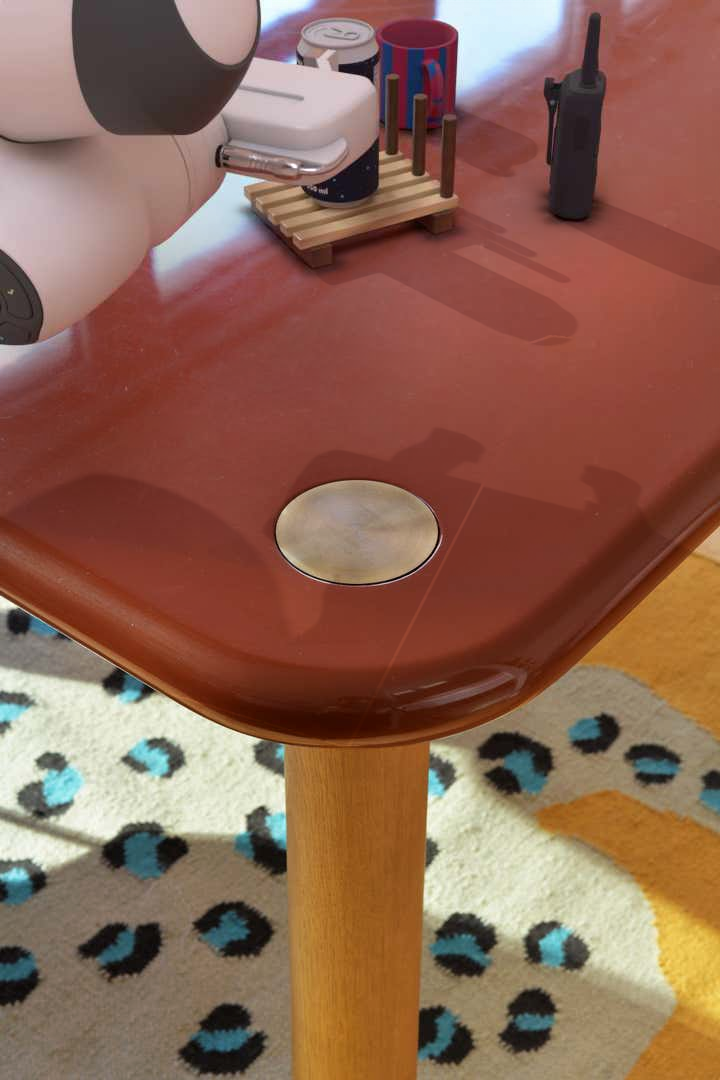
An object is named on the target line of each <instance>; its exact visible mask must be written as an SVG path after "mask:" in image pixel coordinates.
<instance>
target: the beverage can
mask: <svg viewBox="0 0 720 1080" xmlns="http://www.w3.org/2000/svg"><path fill="white" fill-rule="evenodd" d="M300 35H301V38H300V40H299V43H298V44H297V47H296V50H295V60H296V61H295V62H296V65H301V66H304V58H303V56H304V55H305V54H306V53H307V52H308V51H311V48H313V47H317V48H324V49H329V50H336V51H337V52H338V72H341V73H347V74H353V75H359V76H363V77H366V78H368V79H369V80H370V81H371V83H372V84H373V86H374V87H375V89H376V91H377V99H378V122H377V133H376V138H375V141H374V143H373V144H372V146H371V147H370V148H369V149H368V150H367V151H366V152H365V153H364V154H362V155H361V156H360V157H359V158H358V159H357V160H355V161H354V162H353V163H352V164H350V165H349V166H348V167H346V168H345V169H344V170H342V171H341V172H339V173H338V174H336V175H335V176H333V177H331V178H330V179H328V180H326V181H324V182H321V183H318V184H314V185H307V186H301V188H302V190H303V191H304V192H305V193H306V194H307V195H309V196H310V197H312V199H313V201H315V202H316V203H317V204H319V205H321V206H324V207H328V208H335V209H344V208H351V207H355V206H358V205H360V204H362V203H364V202H365V201H366V200H367V198H368V197H369V196H370V195H372V194H373V193H374V192H375V191H376V190H377V188H378V186H379V152H380V119H379V96H380V49H379V46H378V44H377V42H376V37H375V30H374V28H373V26H371V25H370V24H369V23H367V22H365V21H363V20H360V19H354V18H347V17H330V18H329V17H327V18H322V19H317V20H314V21H312V22H309V23H308V24H306V25H305V26H303V27H302V29H301V32H300Z"/></svg>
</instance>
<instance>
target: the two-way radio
mask: <svg viewBox="0 0 720 1080" xmlns="http://www.w3.org/2000/svg"><path fill="white" fill-rule="evenodd" d="M601 23H602V16H601V13H600V12H599V11H593V12H591V13H590V14H589V19H588V23H587V24H588V25H587V30H586V36H585V37H586V38H585V44H584V52H583V59H582V63H581V66H580V67H581V68H577V69H574V70H572V71H571V72H569V73H567V74H566V75H565V76H564V77H563V79H562V81H561V82H555V77H548V76H547V77H545V78H544V84H543V85H544V86H543V96H544V99H545V102H546V105H547V110H548V129H547V130H548V131H547V144H546V145H547V146H546V155H545V157H546V158H545V159H546V160H545V161H546V164H547V166H548V167H550V171H549V182H548V184H549V193H548V209H549V211H550V212H551V213H552V214H554V215H557V216H558V217H559V218H562V219H568V220H582V219H585V218H587V217H588V216H589V215H590V213H591V209H592V205H593V202H594V198H595V193H596V184H597V177H598V157H599V151H600V143H601V135H602V116H603V115H602V114H603V108H604V107H603V106H604V100H605V96H606V91H607V77H606V74H605V72H603V71H602V70H599V68H600V65H599V64H600V63H599V49H600V38H601ZM555 115H556V118H555ZM555 120H556V121H555ZM554 125H555V126H554Z"/></svg>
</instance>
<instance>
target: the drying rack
mask: <svg viewBox="0 0 720 1080" xmlns="http://www.w3.org/2000/svg"><path fill="white" fill-rule="evenodd" d="M457 124H458V117H457V115H456V114H455V115H451V114H448V115H445V116H443V123H442V126H441V130H442V131H441V148H440V149H441V150H440V153H441V154H440V178H439V180H438V179H433V180H431V173H428V172H427V171H426V158H427V156H426V155H427V129H426V127H427V95H425V94H416V95H414V98H413V130H412V142H411V144H412V146H411V159H410V158H404V153H402V151H400V150H399V130H400V128H399V75H397V74H389V75H387V76H386V113H385V123H384V126H385V127H384V128H385V129H384V130H385V131H384V150H381V151H379V186H378V188H377V190H376V191H375V192H374V193H373V194H372V195H370V196H369V197H368V198H367V200H366V201H365V202H364V203H362V204H360V205H358V206H355V207H351V208H344V209H335V208H328V207H324V206H321V205H319V204H317V203H316V202H315V201H313V199H312V197H310V196H309V195H307V194H306V193H305V192H304V191H303V190H302V188H301V186H298V185H288V184H282V183H277V182H272V181H267V180H263V181H260V182H255V183H252V184H247V185H244V186H243V196H244V197H245V198H246V199H247V201H249V202H250V207H251V211H252V212H253V213H254V214H255V215H256V216H257V217H258V218H259V219H260V220H261V221H262V222H263V223H264V224H265V225H266V226H267V227H269V228H270V229H271V230H272V231H273V232H274V233H275V234H276V235H277V236H278V237H279V238H280V239H281V240H282V241H283V242H284V243H285V244H286V245H287V246H288V247H289V248H290V249H291V250H292V251H293V252H294V253H295V254H296V255H298V256H299V258H300V259H302V261H304V263H306V265H308V266H309V267H310V268H311V269H312V270H315V269H318V268H323V267H325V266H329V265H332V264H333V245H332V244H331V242H335V241H339V240H342V239H346V238H349V237H350V238H351V237H353V236H357V235H361V234H363V233H367V232H371V231H374V230H379V229H382V228H385V227H390V226H393V225H396V224H401V223H403V222H407V221H411V220H415V221H416V222H418V223H419V224H420V225H422V226H423V227H424V228H425V229H426V230H428V231H429V232H430V233H431V234H432V235H434V236H435V235H438V234H442V233H445V232H449V231H453V220H454V211H453V210H452V209H454V208H457V207H459V199H460V198H459V196H458V195H457V194H456V193H454V192H455V191H454V189H455V171H456V149H457V147H456V146H457V127H458V125H457Z"/></svg>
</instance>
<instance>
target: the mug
mask: <svg viewBox="0 0 720 1080" xmlns="http://www.w3.org/2000/svg"><path fill="white" fill-rule="evenodd" d="M375 40H376V42H377V44H378V46H379V49H380V96H379V121H381V122H382V123H384V124H385V113H386V76H387V75H389V74H397V75H399V129H402V130H408V131H413V98H414V95H416V94H425V95H427V127H426V130H432V129H436V128H440V127H442V123H443V116H445V115H448V114H451V115H455V116H456V98H457V78H458V77H457V75H458V54H459V53H458V52H459V32H458V29H456V27H454V26H453V25H451V24H449V23H447V22H444V21H441V20H437V19H432V18H425V17H423V18H421V17H412V18H409V17H408V18H401V19H395V20H392V21H389V22H386V23H384V24H383V25H381V26H379V28H377V30H376V32H375Z"/></svg>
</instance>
